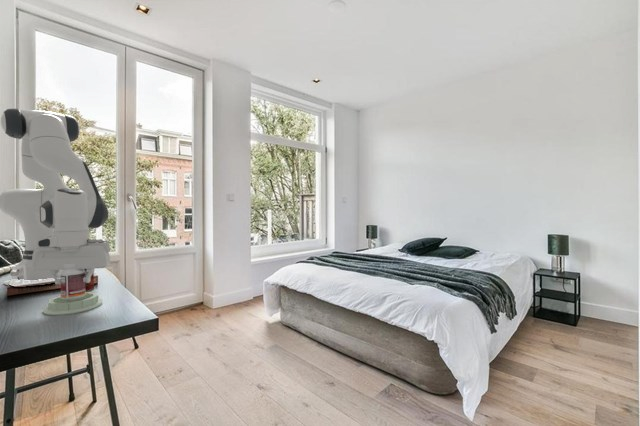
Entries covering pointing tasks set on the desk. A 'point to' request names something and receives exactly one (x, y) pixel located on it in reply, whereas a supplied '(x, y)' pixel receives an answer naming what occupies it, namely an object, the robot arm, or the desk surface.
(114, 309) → the desk surface
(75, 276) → the pill bottle
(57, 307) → the dish
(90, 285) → the deodorant
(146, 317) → the desk surface
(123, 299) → the desk surface
